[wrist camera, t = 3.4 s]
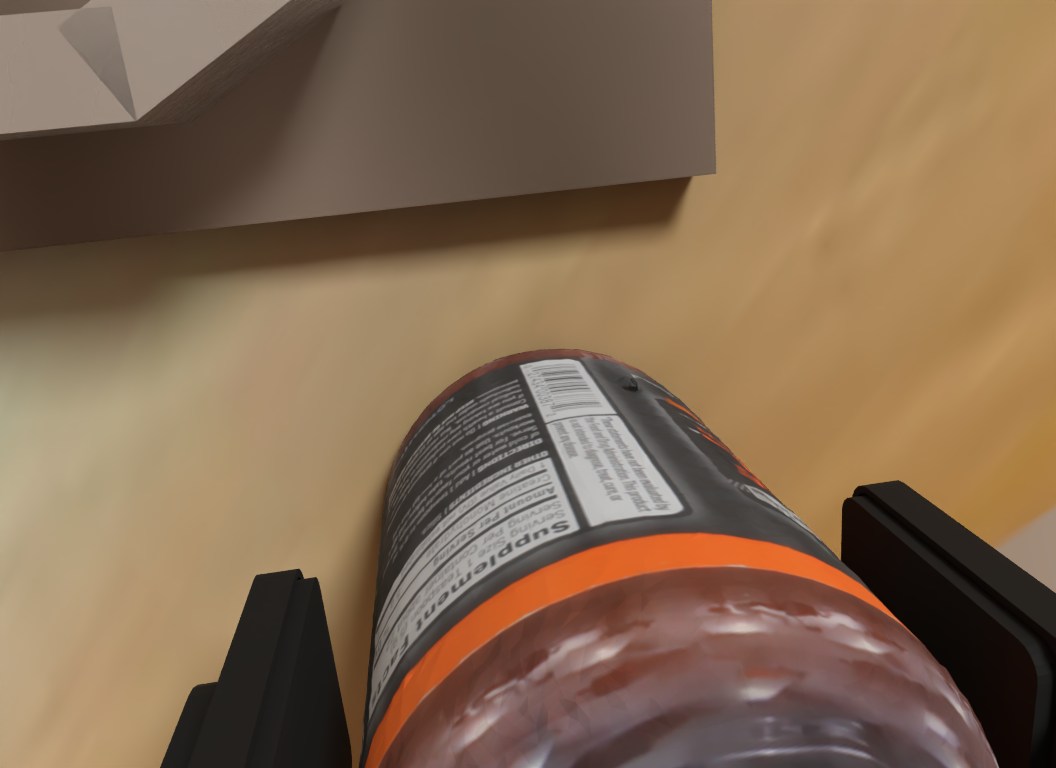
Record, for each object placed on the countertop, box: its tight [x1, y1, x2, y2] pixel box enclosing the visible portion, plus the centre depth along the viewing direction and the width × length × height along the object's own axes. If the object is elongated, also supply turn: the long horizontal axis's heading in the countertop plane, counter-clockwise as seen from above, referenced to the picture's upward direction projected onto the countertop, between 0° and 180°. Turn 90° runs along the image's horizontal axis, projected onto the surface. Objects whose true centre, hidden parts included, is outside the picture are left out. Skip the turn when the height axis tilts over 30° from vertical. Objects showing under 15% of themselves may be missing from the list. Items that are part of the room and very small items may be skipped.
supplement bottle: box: [359, 349, 999, 768], centre depth 10 cm, size 6×6×11 cm
